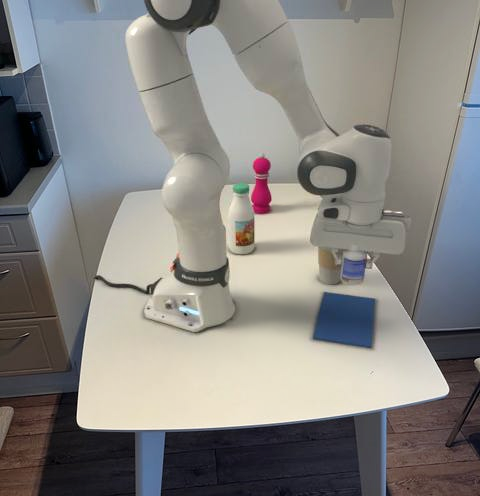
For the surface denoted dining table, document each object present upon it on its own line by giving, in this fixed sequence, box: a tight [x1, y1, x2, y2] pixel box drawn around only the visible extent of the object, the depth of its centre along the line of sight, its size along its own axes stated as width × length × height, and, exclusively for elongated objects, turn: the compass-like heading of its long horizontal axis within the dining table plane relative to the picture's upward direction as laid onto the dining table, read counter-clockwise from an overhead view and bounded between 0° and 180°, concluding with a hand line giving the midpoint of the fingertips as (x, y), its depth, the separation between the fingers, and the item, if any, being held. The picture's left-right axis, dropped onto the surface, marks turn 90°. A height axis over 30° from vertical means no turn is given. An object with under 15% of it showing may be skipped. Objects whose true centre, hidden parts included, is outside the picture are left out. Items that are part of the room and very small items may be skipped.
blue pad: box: [312, 291, 376, 349], centre depth 119 cm, size 13×20×1 cm, turn 165°
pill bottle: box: [340, 245, 368, 286], centre depth 109 cm, size 5×5×10 cm
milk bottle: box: [227, 182, 256, 255], centre depth 143 cm, size 8×8×20 cm
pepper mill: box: [250, 152, 272, 215], centre depth 167 cm, size 7×7×20 cm
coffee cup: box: [317, 246, 344, 285], centre depth 130 cm, size 9×9×15 cm
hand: (353, 265), depth 110 cm, fingers closed on pill bottle, 5 cm apart
